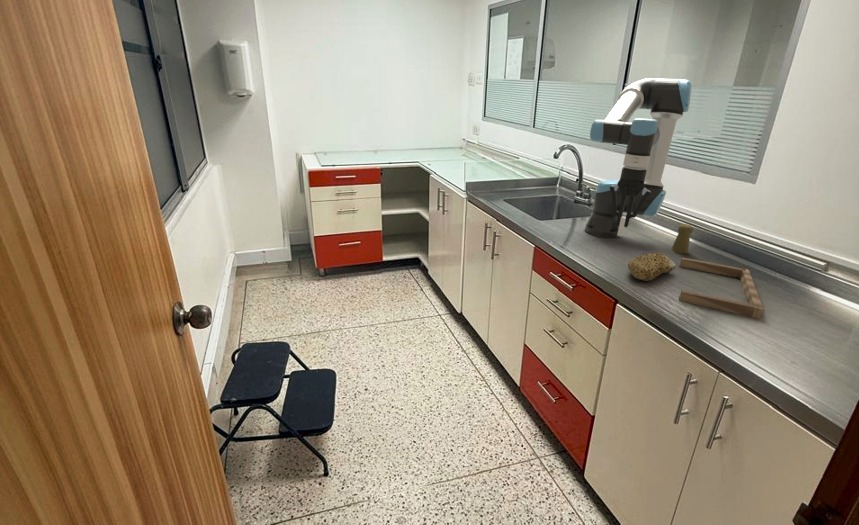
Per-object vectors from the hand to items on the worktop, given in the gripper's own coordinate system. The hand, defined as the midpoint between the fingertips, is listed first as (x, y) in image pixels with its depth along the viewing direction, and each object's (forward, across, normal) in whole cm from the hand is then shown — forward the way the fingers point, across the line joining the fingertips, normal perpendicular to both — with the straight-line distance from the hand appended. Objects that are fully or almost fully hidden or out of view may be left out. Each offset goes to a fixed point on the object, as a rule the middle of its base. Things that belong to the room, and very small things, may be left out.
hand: (619, 235), depth 154 cm
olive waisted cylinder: (+12, +22, +35) cm, 43 cm away
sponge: (+13, +12, 0) cm, 17 cm away
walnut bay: (+12, +32, 0) cm, 34 cm away
